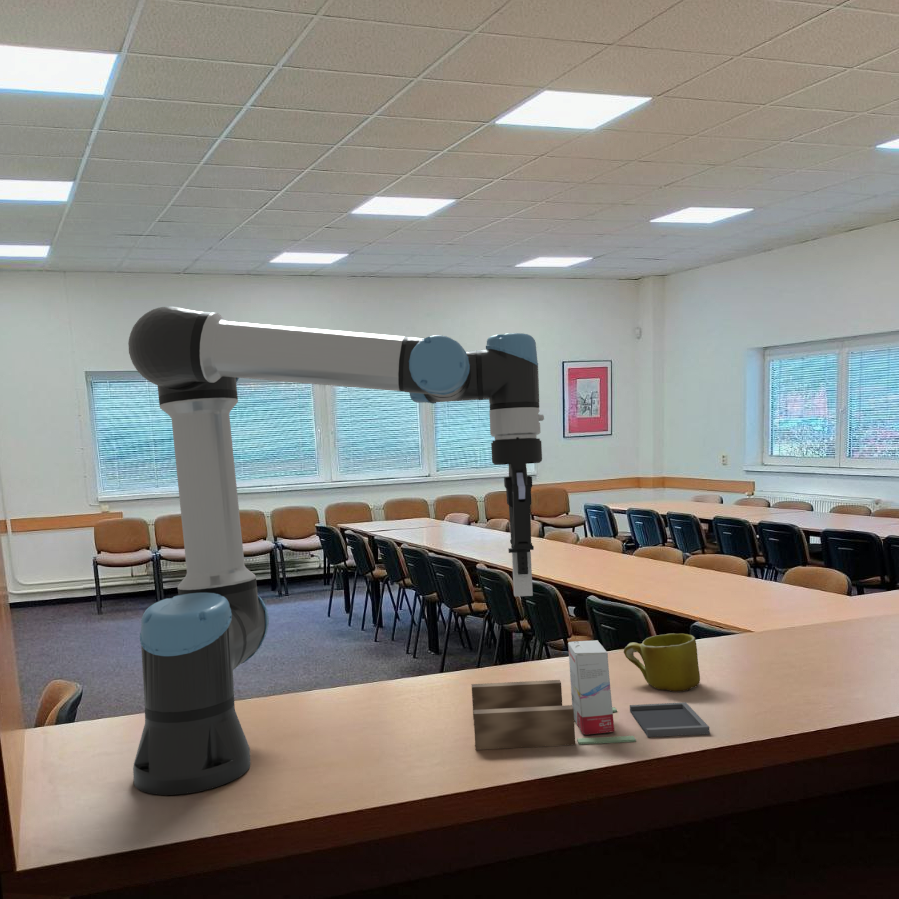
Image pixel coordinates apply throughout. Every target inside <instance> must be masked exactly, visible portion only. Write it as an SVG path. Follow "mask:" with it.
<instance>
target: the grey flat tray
mask: <svg viewBox="0 0 899 899" xmlns="http://www.w3.org/2000/svg"><path fill="white" fill-rule="evenodd" d="M694 710H695V709H693V708H692V707H691V706H690V705H689V704H688V703H687V702H683V701H681V702H667V703H665V702H663V703H648V704H647V703H646V704H645V703H644V704H630V705H629V713H630V714H631V715H632V716H633V718H634V720H635V721H636V722H637V724H638V726H639V727H640V728H641V730H642V731H643V732H644V734H645V735H646V738H655V737H656V738H659V737H675V736H677V737H678V736H695V735H696V736H697V735H711V734H710V726H709V725H708V724H707V723H706V722H705V721H704V720H703V719H702V717H700V715H699V714H698V713H697V712H696V711H694Z"/></svg>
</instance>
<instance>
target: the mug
mask: <svg viewBox="0 0 899 899" xmlns="http://www.w3.org/2000/svg"><path fill="white" fill-rule="evenodd" d="M634 653H637V654H639V656H640V657H641V660H642V662H643V663H642V662H640V660H639V659H638V657H636V656H635V655H634ZM623 654H624V656H625V658H627V660H628V661H629V662H630V663H631V664H633V665H635V666H636V667H637V668H638V669H639V670H640V672H641V673H642V676H643V678H644V680H645V681H646V682H647V683H648V685H651V687H652V688H654V689H657V690H660V691H662V690H663V691H669V692H673V693H674V692H675V693H680V692H686V691H690V690H691V689H693V688H696V687H698V686H699V684H700V683H701V676H700V675H701V674H700V669H699V661H698V660H699V659H698V647H697V641H696V637H695V636H694V635H692V634H688V633H666V634H665V633H664V634H659V635H653V636H649V637H646V638H645V639H644V640H643V641H642V643H638V642H629V643H628V644H627V645H626V646H625V647H624V649H623Z"/></svg>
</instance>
